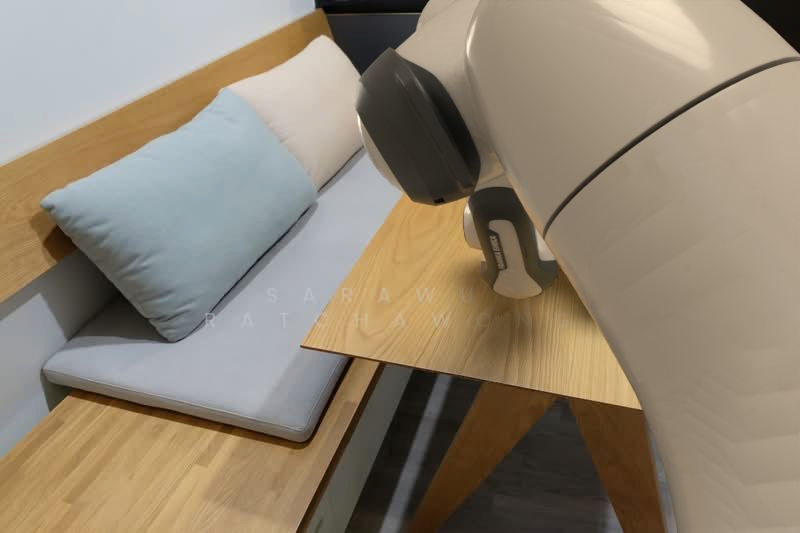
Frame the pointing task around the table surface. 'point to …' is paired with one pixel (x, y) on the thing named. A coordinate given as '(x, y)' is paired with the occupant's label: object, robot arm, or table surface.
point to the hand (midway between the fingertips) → (674, 227)
